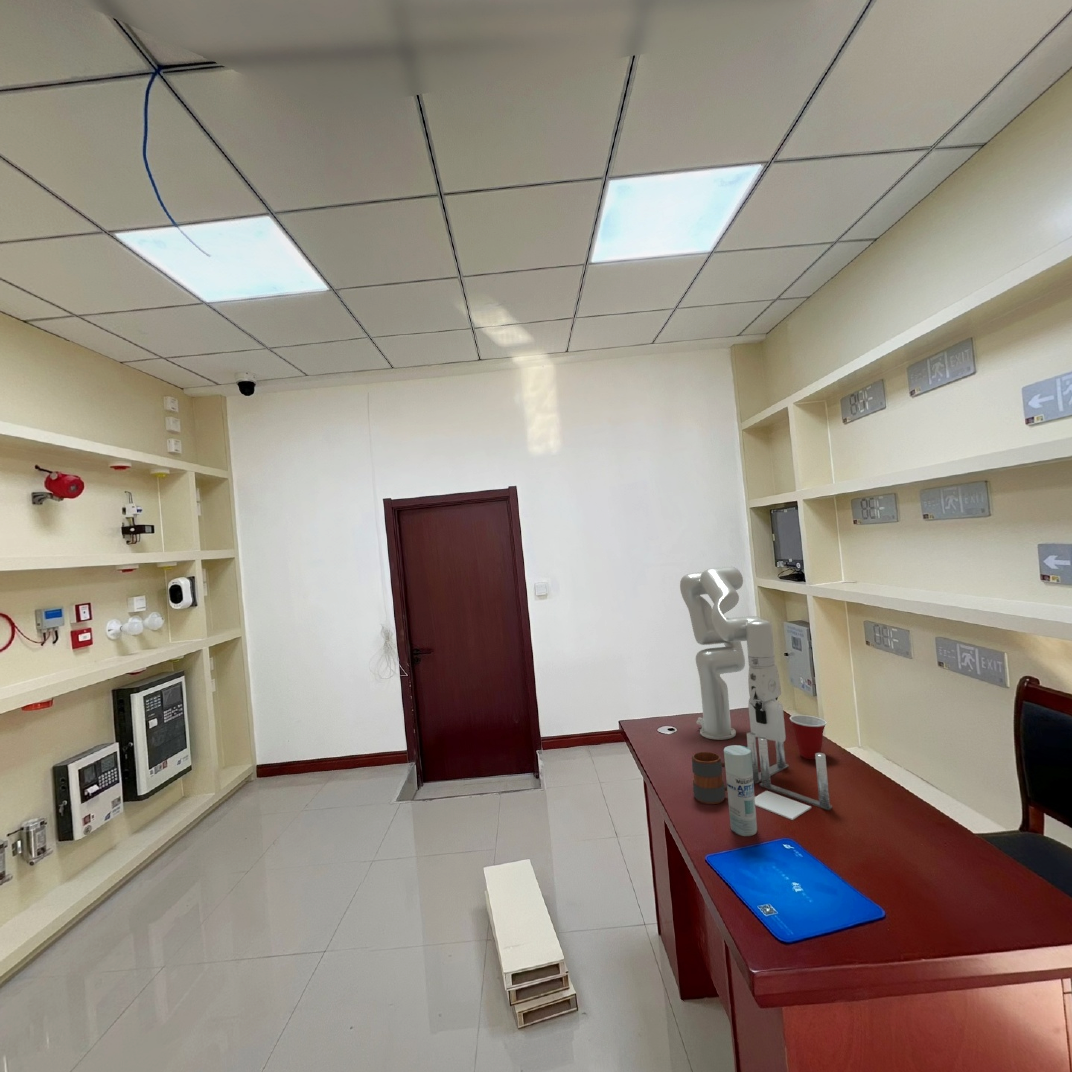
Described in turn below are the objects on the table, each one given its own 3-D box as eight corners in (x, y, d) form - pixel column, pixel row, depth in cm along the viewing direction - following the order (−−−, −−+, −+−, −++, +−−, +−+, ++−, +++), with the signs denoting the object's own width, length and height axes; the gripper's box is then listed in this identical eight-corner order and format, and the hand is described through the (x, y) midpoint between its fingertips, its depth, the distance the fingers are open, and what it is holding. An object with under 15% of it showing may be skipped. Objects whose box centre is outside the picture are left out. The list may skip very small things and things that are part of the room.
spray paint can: (744, 820, 142) (738, 743, 142) (763, 832, 136) (756, 751, 136) (724, 827, 139) (718, 748, 140) (742, 839, 133) (735, 757, 134)
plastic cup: (837, 760, 172) (833, 722, 173) (804, 764, 172) (800, 726, 172) (817, 747, 183) (814, 712, 183) (786, 751, 183) (783, 715, 183)
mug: (741, 804, 150) (737, 762, 150) (696, 805, 151) (692, 763, 152) (734, 790, 158) (730, 750, 159) (691, 791, 160) (688, 751, 160)
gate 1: (747, 780, 164) (743, 733, 164) (779, 763, 174) (776, 719, 174) (756, 783, 162) (752, 736, 162) (788, 766, 171) (784, 721, 171)
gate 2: (759, 786, 160) (755, 738, 160) (764, 783, 161) (760, 736, 161) (828, 810, 143) (823, 757, 143) (832, 807, 145) (828, 754, 145)
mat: (747, 802, 151) (747, 801, 151) (766, 791, 156) (766, 790, 156) (792, 820, 140) (792, 818, 140) (811, 808, 145) (811, 806, 145)
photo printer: (748, 736, 170) (745, 696, 170) (756, 732, 172) (752, 693, 172) (781, 744, 162) (777, 702, 162) (788, 739, 164) (784, 698, 164)
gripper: (755, 668, 159) (761, 731, 159) (788, 657, 169) (793, 716, 169) (733, 664, 166) (738, 725, 165) (766, 654, 175) (771, 711, 175)
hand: (766, 720), depth 167 cm, fingers closed on photo printer, 4 cm apart
